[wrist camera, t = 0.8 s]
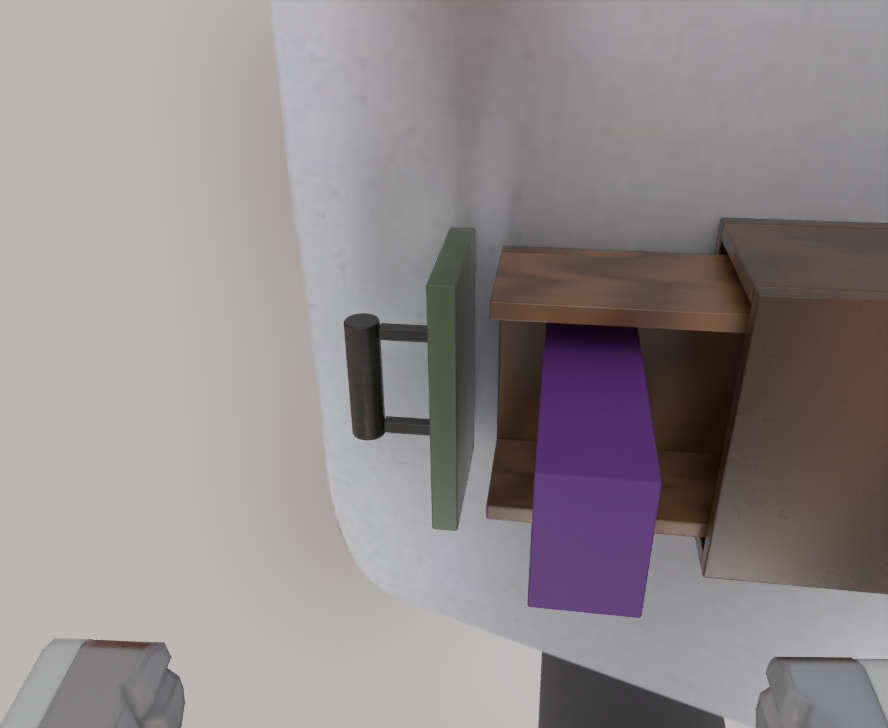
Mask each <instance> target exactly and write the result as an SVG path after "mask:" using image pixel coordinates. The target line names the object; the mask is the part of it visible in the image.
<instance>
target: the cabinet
mask: <svg viewBox="0 0 888 728" xmlns="http://www.w3.org/2000/svg"><path fill="white" fill-rule="evenodd" d="M715 254H716V255H729V257H730V259H731V261H732V264H733V266H734V268H735V270H736V272H737V274H738V277H739V279H740V281H741V283H742V285H743V287H744V290H745V292H746V294H747V296H748V298H749V300H750V303H751V304H752V305H751V310H750V315H749V321H748V326H747V331H746V336H745V341H744V346H743V351H742V356H741V361H740V367H739V372H738V377H737V382H736V387H735V392H734V397H733V402H732V407H731V413H730V418H729V423H728V428H727V433H726V438H725V443H724V448H723V453H722V458H721V464H720V469H719V474H718V479H717V484H716V489H715V494H714V499H713V504H712V510H711V515H710V520H709V525H708V530H707V535H706V538H704V537H695V539H696V544H697V549H698V555H699V560H700V564H701V569H702V574H703V577H708V578H719V579H730V580H741V581H751V582H762V583H773V584H784V585H795V586H805V587H816V588H827V589H838V590H848V591H859V592H870V593H881V594H888V223H860V222H831V221H801V220H772V219H742V218H721V221H720V227H719V233H718V239H717V245H716V251H715Z"/></svg>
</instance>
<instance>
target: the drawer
mask: <svg viewBox="0 0 888 728" xmlns="http://www.w3.org/2000/svg"><path fill="white" fill-rule="evenodd" d="M426 295H427V326H424V325H406V324H388V323H381V324H380V321H379V319H378V317H376V316H375V315H372V314H364V313H363V314H355V315H351V316H349V317H347V318H346V319H345V321H344V332H345V344H346V356H347V368H348V380H349V392H350V405H351V417H352V429H353V434H354V436H355V437H357V438H358V439H361V440H374V439H378V438H380V437H381V436H383V435H384V433H385V432H388V433H402V434H416V435H429V436H430V453H431V492H432V527H433V528H434V529H443V530H454V531H456V530H457V529H458V525H459V520H460V515H461V510H462V505H463V500H464V495H465V490H466V485H467V479H468V474H469V469H470V464H471V459H472V454H473V449H474V354H475V228H457V227H451V228H450V230H449V232H448V234H447V237H446V239H445V242H444V244H443V246H442V249H441V251H440V254H439V256H438V259H437V261H436V263H435V266H434V268H433V271H432V273H431V275H430V278H429V280H428V283H427V285H426ZM751 305H752V304H751V303H750V300H749V298H748V296H747V294H746V292H745V290H744V287H743V285H742V283H741V281H740V279H739V277H738V274H737V272H736V270H735V268H734V266H733V264H732V261H731V259H730V257H729V255H716V254H691V253H667V252H642V251H617V250H592V249H567V248H542V247H517V246H503V248H502V253H501V256H500V261H499V265H498V270H497V274H496V278H495V283H494V287H493V292H492V296H491V300H490V320H500V333H499V374H498V414H497V441H496V448H495V454H494V461H493V467H492V473H491V480H490V486H489V493H488V499H487V506H486V517H487V519H496V520H507V521H519V522H530V523H532V513H533V495H534V477H535V462H536V449H537V436H538V423H539V409H540V396H541V383H542V370H543V356H544V343H545V330H546V323H563V324H582V325H601V326H620V327H638V332H639V338H640V345H641V351H642V358H643V364H644V371H645V377H646V384H647V390H648V397H649V403H650V410H651V416H652V423H653V429H654V436H655V442H656V449H657V456H658V462H659V469H660V475H661V482H662V484H661V491H660V497H659V504H658V510H657V517H656V523H655V530H654V533H658V534H669V535H681V536H692V537H704V538H706V535H707V530H708V525H709V520H710V515H711V510H712V504H713V499H714V494H715V489H716V484H717V479H718V474H719V469H720V464H721V458H722V453H723V448H724V443H725V438H726V433H727V428H728V423H729V418H730V413H731V407H732V402H733V397H734V392H735V387H736V382H737V377H738V372H739V367H740V361H741V356H742V351H743V346H744V341H745V336H746V331H747V326H748V321H749V315H750V310H751ZM381 340H393V341H411V342H428V374H429V413H430V419H419V418H405V417H390V416H387V417H386V418H385V407H384V390H383V373H382V356H381Z"/></svg>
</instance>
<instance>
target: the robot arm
mask: <svg viewBox="0 0 888 728" xmlns="http://www.w3.org/2000/svg"><path fill="white" fill-rule="evenodd" d="M170 659H171V655H170V653H169V651H168V649H167V647H166V645H165V643H164V642H136V641H107V640H92V639H54V640H53V641H52V642H50V644H48V645H47V646H46V647H45V648H44V649H43V650H42V652H41V654H40V656H39V657H38V659H37V661H36V663H35V664H34V666H33V668H32V670H31V672H30V673H29V675H28V677H27V679H26V680H25V682H24V684H23V686H22V688H21V689H20V691H19V693H18V695H17V696H16V698H15V700H14V702H13V704H12V705H11V707H10V709H9V710H8V712H7V714H6V716H5V718H4V720H3V721H2V723H1V725H0V728H181V726H182V719H183V712H184V705H185V699H184V690H183V689H184V688H183V685H182V683H181V680H180V677H179V676H178V675H176V674H175V673H173V672H172V671H171V670H169V669H168V668H167V667H168V664H169V662H170ZM766 675H767V678H768V681H769V685H770V687H769V688H767V689H766V690H764V691H763V692H761V693H760V695H759V699H758V703H757V708H756V728H888V659H853V658H837V657H775V658H773V659H772V660H771V661H770V662H769V665H768V668H767V672H766Z"/></svg>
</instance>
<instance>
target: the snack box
mask: <svg viewBox="0 0 888 728" xmlns="http://www.w3.org/2000/svg"><path fill="white" fill-rule="evenodd" d="M661 484H662V482H661V475H660V469H659V462H658V456H657V449H656V442H655V436H654V429H653V423H652V416H651V410H650V403H649V397H648V390H647V384H646V377H645V371H644V364H643V358H642V351H641V345H640V338H639V332H638V327H620V326H601V325H582V324H563V323H546V330H545V343H544V356H543V370H542V383H541V396H540V409H539V423H538V436H537V449H536V462H535V477H534V495H533V513H532V532H531V550H530V568H529V587H528V606H529V607H537V608H547V609H557V610H567V611H577V612H587V613H597V614H607V615H617V616H627V617H637V618H641V615H642V608H643V602H644V595H645V589H646V582H647V576H648V569H649V563H650V556H651V549H652V543H653V536H654V530H655V523H656V517H657V510H658V504H659V497H660V491H661Z"/></svg>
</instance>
